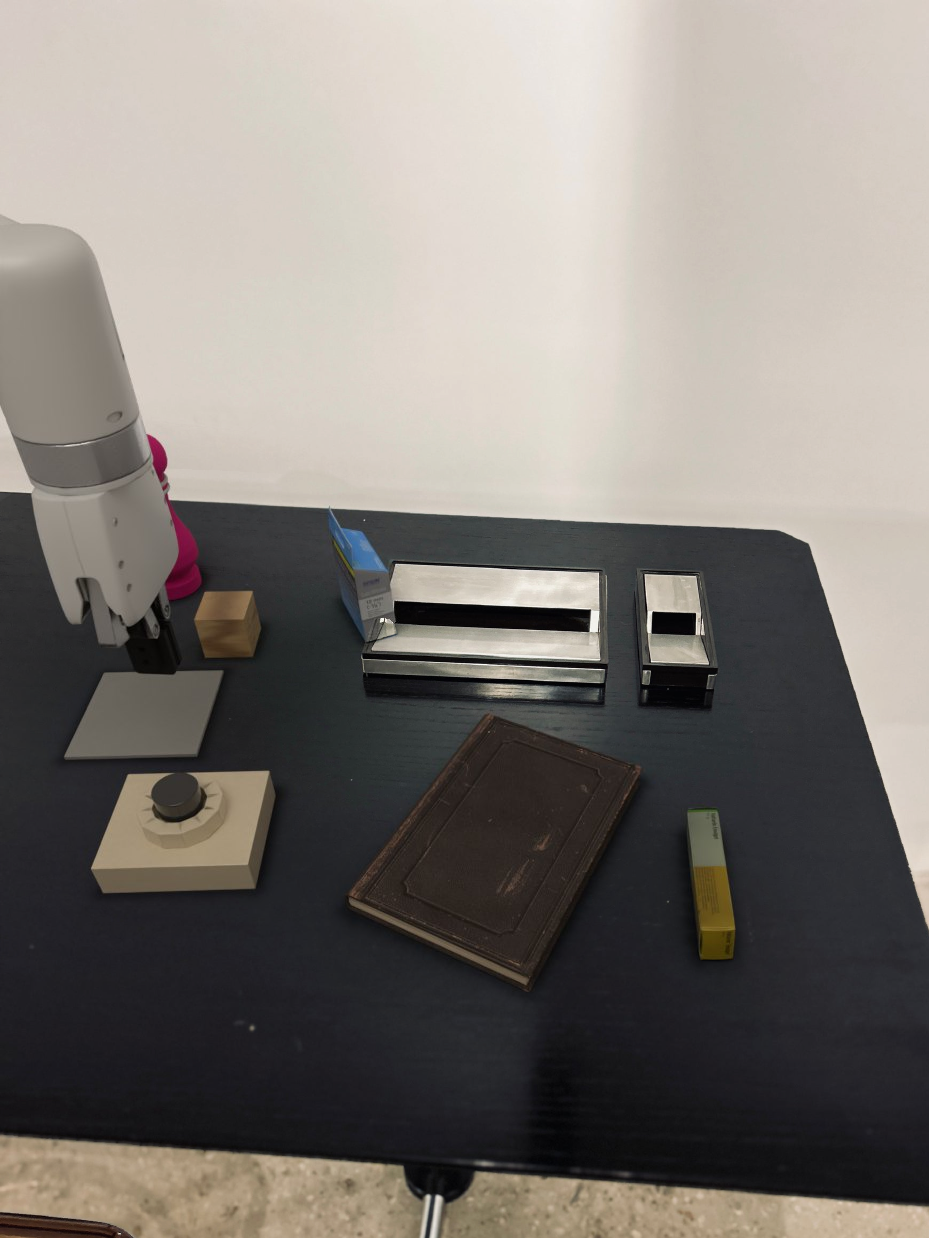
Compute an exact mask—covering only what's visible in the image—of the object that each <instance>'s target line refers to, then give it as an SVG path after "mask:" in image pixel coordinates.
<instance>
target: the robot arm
mask: <svg viewBox="0 0 929 1238" xmlns="http://www.w3.org/2000/svg"><path fill="white" fill-rule="evenodd" d="M100 268H101V267H100V265H99V263H98V260H97V257H96V254H95V252H94V251H93V248H92V247H91V246H90V244H89V243H88V242H87V241H86V239H84V237H82V235H80V234H79V233H77V232H75V231H74V230H71V229H70V228H67V227H63V226H58V225H54V224H48V223H47V224H46V223H20V222H18V221H16V220H14V219H12V218H9V217H7V216H5V215H3V214H1V213H0V409H1V411H2V415H3V416H4V418H5V421H6V424H7V426H8V429H9V431H10V434H11V437H12V439H13V443H14V445H15V448H16V450H17V452H18V455H19V458H20V460H21V462H22V465H23V467H24V471H25V472H26V475H27V477H28V480H29V483H30V484H31V485H32V486H33V487H34V488H33V490H32V491H31V493H30V496H31V503H32V509H33V515H34V520H35V524H36V531H37V534H38V538H39V542H40V545H41V549H42V554H43V556H44V558H45V563H46V565H47V568H48V571H49V572H48V573H49V575H50V578H51V581H52V584H53V587H54V590H55V593H56V595H57V598H58V601H59V604H60V605H61V609H62V611H63V613H64V616H65V618H66V619H67V621H68V622H69V623H70V624H71V625H74V626H75V625H76V626H77V625H82V624H83V622H85V620H86V619H87V617H88V616H89V615H90V613H91V614H92V620H93V622H94V629H95V633H96V637H97V641H98V646H100V648H109V649H111V648H112V649H113V648H114V649H118V648H119V649H120V648H121V647H122V646H123V645H124V646H125V648H126V649H125V650H126V652H127V654H128V658H129V659H130V663H131V665H132V668H133V670H134V672H137V673H139V674H161V675H174V674H175V673H176V671H178V669H179V666H180V665H181V664H182V661H183V656H182V653H181V650H180V647H179V643H178V640H177V637H176V634H175V631H174V627H173V624H172V621H171V620H169V619H170V617H171V613H172V612H171V611H172V610H171V605H170V600H168V596H167V591H166V583H165V581H166V579H167V578H168V576H169V574H170V572H171V571H172V569H173V567H174V565H175V563H176V561H177V557H178V553H179V548H178V541H177V536H176V532H175V528H174V524H173V521H172V517H171V514H170V511H169V508H168V505H167V502H166V499H165V496H164V493H163V490H162V487H161V484H160V482H159V479H158V476H157V474H156V471H155V469H154V466H153V464H152V463H153V455H152V452H151V449H150V445H149V441H148V438H147V434H148V433H147V431H146V428H145V424H144V422H143V417H142V413H141V410H140V407H139V403H138V400H137V395H136V392H135V389H134V384H133V382H132V378H131V374H130V370H129V367H128V364H127V361H126V356H125V353H124V350H123V347H122V342H121V339H120V335H119V332H118V329H117V325H116V322H115V318H114V314H113V311H112V307H111V304H110V300H109V297H108V293H107V290H106V286H105V282H104V279H103V275H102V272H101V269H100Z"/></svg>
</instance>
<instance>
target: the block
mask: <svg viewBox="0 0 929 1238" xmlns="http://www.w3.org/2000/svg"><path fill="white" fill-rule="evenodd" d="M193 622H194V625H195V629H196V632H197V636H198V639H199V642H200V645H201V649H202V653H203V656H204V659H215V658H216V659H219V658H223V659H224V658H253V657H254V654H255V651H256V647H257V644H258V641H259V637H260V633H261V630H262V626H261V621H260V618H259V613H258V607H257V604H256V600H255V595H254V591H253V590H232V591H231V590H230V591H229V590H227V591H225V590H224V591H204V593H203V596H202V598H201V601H200V603H199V606H198V608H197V612H196V613H195V615H194V619H193Z"/></svg>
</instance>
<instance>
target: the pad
mask: <svg viewBox="0 0 929 1238" xmlns="http://www.w3.org/2000/svg"><path fill="white" fill-rule="evenodd" d="M224 674H225V671H224V670H222V669H219V670H215V669H214V670H177V671H176V673H175V674H174V675H161V674H139V673H137V672H135V671H123V672H122V671H117V672H116V671H115V672H113V671H112V672H103V674H102V677H100V680H99V683H98V685H97V686H96V689H95V691H94V693H93V695H92V697H91V699H90V701H89V703H88V705H87V708H86V710H85V712H84V714H83V716H82V718H81V720H80V722H79V724H78V726H77V728H76V730H75V732H74V735H73V737H72V739H71V741H70V743H69V745H68V747H67V749H66V752H65V754H64V756H63V759H64V760H65V761H68V760H69V761H71V760H73V761H75V760H114V759H115V760H116V759H117V760H119V759H154V758H155V759H156V758H159V759H161V758H197V757H198V756H199V752H200V749H201V746H202V743H203V740H204V737H205V733H206V732H207V731H206V730H207V728H208V724H209V721H210V718H211V715H212V712H213V708H214V705H215V702H216V699H217V696H218V694H219V689H220V686H221V683H222V681H223V678H224Z"/></svg>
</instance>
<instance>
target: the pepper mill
mask: <svg viewBox="0 0 929 1238" xmlns="http://www.w3.org/2000/svg"><path fill="white" fill-rule="evenodd" d="M146 434H147V438H148V441H149V445H150V449H151V452H152V455H153V463H152V464H153V466H154V469H155V471H156V474H157V476H158V479H159V482H160V484H161V487H162V490H163V493H164V496H165V499H166V502H167V505H168V508H169V511H170V514H171V517H172V521H173V524H174V528H175V532H176V536H177V541H178V548H179V553H178V557H177V561H176V563H175V565H174V567H173V569H172V571H171V572H170V574H169V576H168V578H167V579H166V581H165V583H166V591H167V596H168V600H169V601H176V600H180V599H184V598H186V597H188V596H191V595H192V594H194V593H195V592H196V591H197V590H198V589H199V588H200V586H202V575H201V572H200V568H199V566H198V565H197V564H196V562H197V560H198V558H199V548H198V547H199V546H198V545H197V542H196V539H195V537H194V536H193V534H192V533H191V531H190V530H189V528H188V527H187V526H186V525H185V524H184V522H182V520H181V519H180V517H179V516H178V515H177V513H176V512H175V510H174V509H173V505H172V503H171V501H170V499H169V498H170V497H169V492H170V490H171V484H170V483H169V482H168V481H169V478H168V475H167V474H166V473H165V472H166V469H167V468H168V455H167V452H166V450H165V448H164V446H163V444H162V443H161V442H160V440H158V438H156V437H155V436H153V435H151V434H149V433H146Z"/></svg>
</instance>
